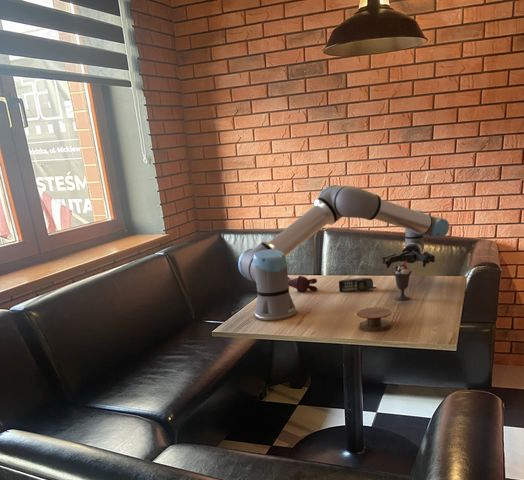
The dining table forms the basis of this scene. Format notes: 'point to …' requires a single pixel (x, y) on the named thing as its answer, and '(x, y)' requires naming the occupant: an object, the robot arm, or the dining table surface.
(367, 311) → the stand
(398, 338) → the dining table surface
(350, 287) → the mobile phone
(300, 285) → the chocolate bunny
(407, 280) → the sundae
